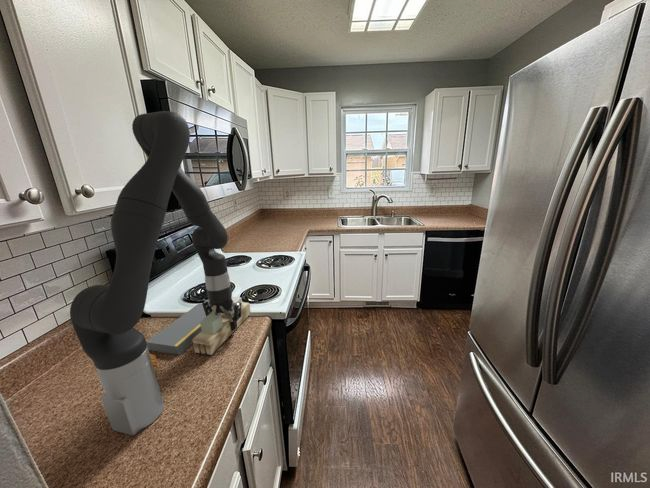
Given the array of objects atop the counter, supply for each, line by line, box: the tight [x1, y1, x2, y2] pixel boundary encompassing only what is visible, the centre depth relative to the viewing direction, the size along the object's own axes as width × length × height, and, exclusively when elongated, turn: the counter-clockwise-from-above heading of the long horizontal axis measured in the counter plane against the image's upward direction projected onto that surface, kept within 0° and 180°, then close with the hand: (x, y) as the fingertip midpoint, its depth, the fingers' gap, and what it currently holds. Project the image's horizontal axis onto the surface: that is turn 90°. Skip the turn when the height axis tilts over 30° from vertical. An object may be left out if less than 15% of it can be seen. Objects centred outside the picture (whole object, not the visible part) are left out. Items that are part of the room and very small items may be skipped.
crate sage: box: [200, 314, 223, 334], centre depth 84 cm, size 4×4×4 cm
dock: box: [146, 302, 222, 356], centre depth 94 cm, size 25×12×3 cm, turn 166°
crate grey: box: [228, 296, 243, 313], centre depth 96 cm, size 4×4×4 cm
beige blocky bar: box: [192, 301, 251, 356], centre depth 91 cm, size 24×6×5 cm, turn 166°
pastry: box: [149, 353, 160, 376], centre depth 75 cm, size 9×7×4 cm
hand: (225, 328), depth 91 cm, fingers closed on beige blocky bar, 6 cm apart
